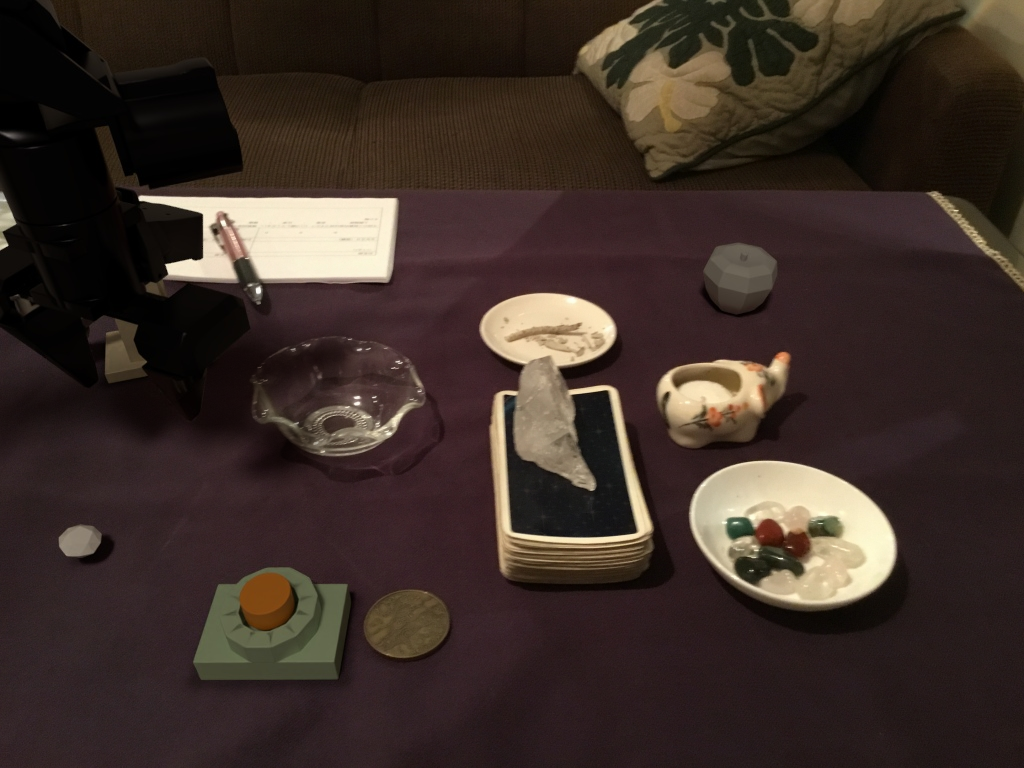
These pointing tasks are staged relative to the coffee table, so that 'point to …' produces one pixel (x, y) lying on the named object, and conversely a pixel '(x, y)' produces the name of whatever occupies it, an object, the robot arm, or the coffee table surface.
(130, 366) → the lever bracket
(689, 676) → the coffee table surface
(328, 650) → the button block
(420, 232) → the coffee table surface
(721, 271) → the apple
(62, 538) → the gemstone
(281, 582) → the button
